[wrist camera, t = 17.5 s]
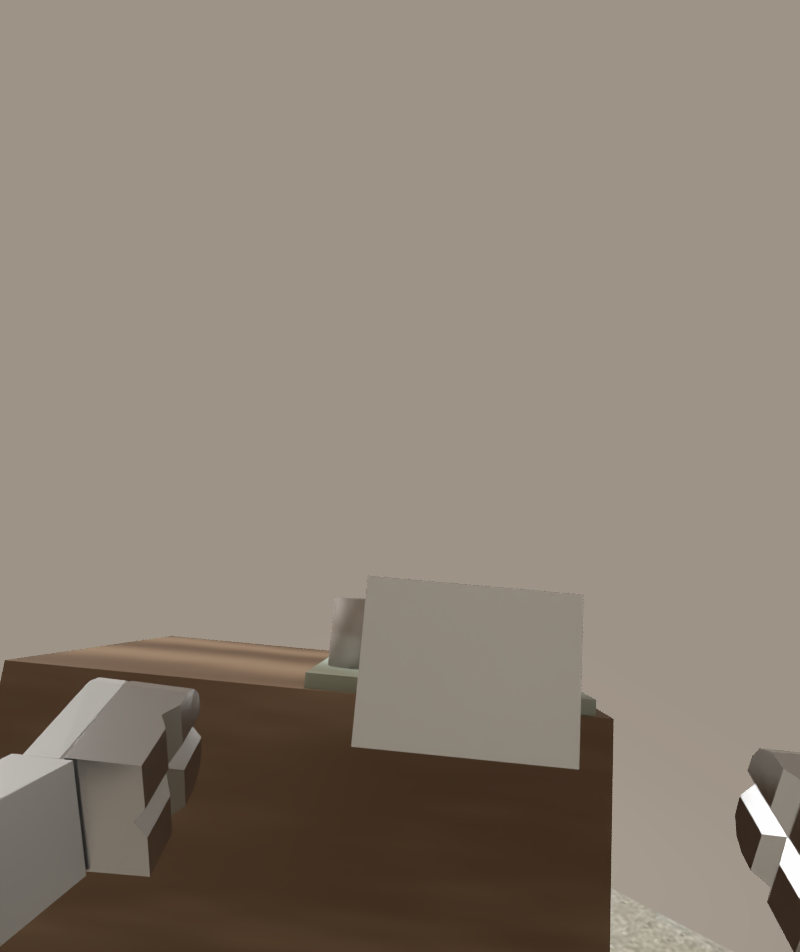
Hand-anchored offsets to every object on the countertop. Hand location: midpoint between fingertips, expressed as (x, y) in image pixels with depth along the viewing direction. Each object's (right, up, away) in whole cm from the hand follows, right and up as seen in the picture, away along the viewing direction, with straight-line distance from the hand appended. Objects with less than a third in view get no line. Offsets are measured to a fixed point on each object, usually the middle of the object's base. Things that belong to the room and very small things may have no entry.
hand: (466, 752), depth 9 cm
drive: (0, -3, +12) cm, 13 cm away
